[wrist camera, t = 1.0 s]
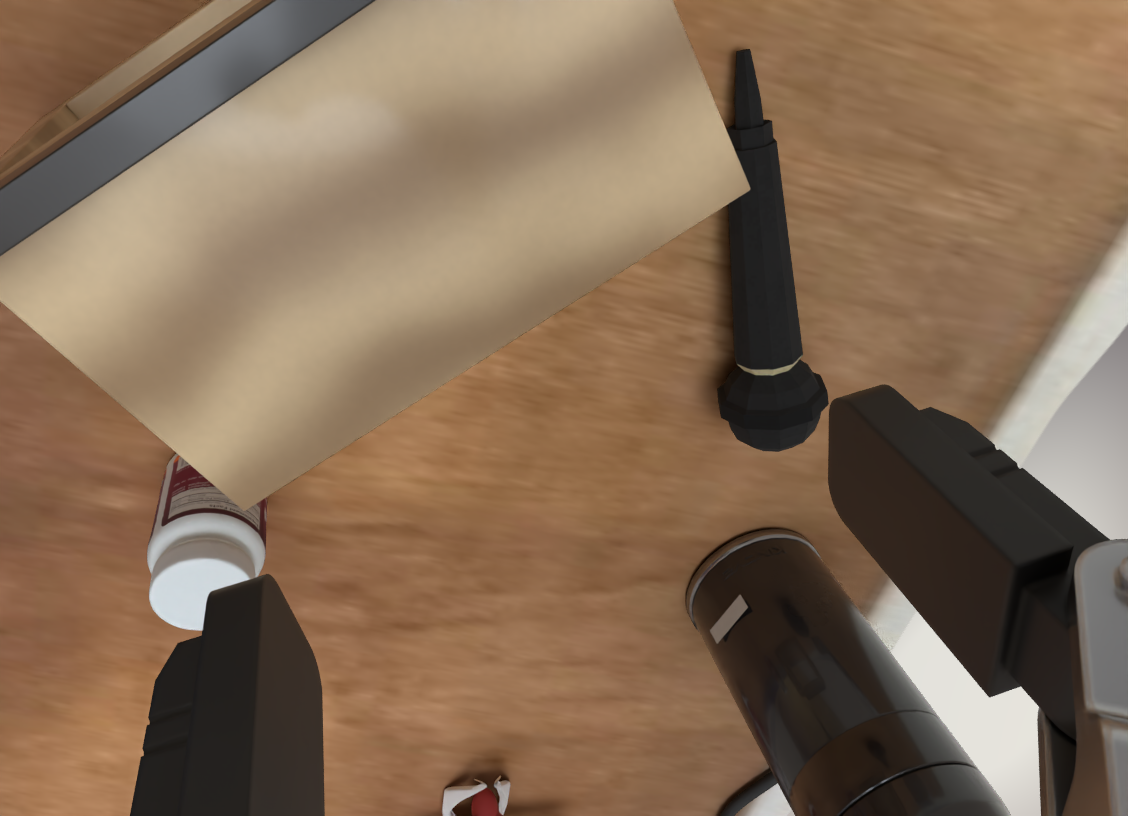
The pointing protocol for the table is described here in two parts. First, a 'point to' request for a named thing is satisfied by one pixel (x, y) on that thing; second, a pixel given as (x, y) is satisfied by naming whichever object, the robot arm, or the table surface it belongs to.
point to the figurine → (478, 798)
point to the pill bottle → (199, 545)
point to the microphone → (764, 294)
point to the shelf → (347, 207)
